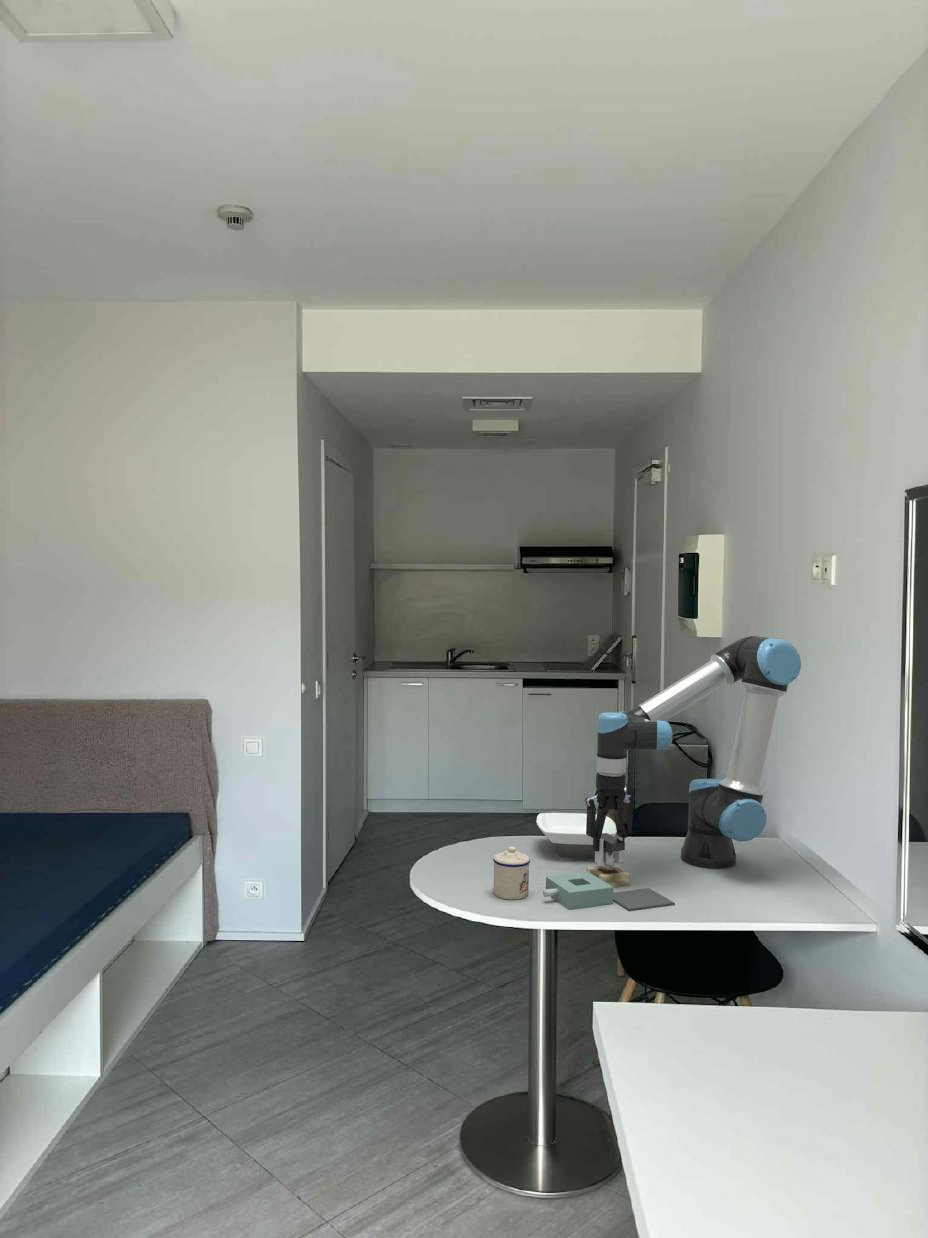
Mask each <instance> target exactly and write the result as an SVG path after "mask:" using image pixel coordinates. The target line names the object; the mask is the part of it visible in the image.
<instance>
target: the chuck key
mask: <svg viewBox="0 0 928 1238" xmlns="http://www.w3.org/2000/svg"><path fill="white" fill-rule="evenodd" d="M601 839H603V865H601V866H602V873H604V874H611V873H614V865H615V862H616V861H615V851H622V852H623V851H626V842H623V841H621V840H619V839H617V838H615V837H613V836H611V835H610V834H608V833H602V835H601Z"/></svg>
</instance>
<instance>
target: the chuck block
mask: <svg viewBox="0 0 928 1238" xmlns="http://www.w3.org/2000/svg"><path fill="white" fill-rule="evenodd" d="M613 892H614V887H612V886H610V885H609V884H607V883H606V882H604V881H602V880H601V879H599V878H597V877H596V876H594V875H593V874H591V873H589V872H587V871H585V872H576V873H567V874H559V875H550V876H549V875H548V876H545V889H543V890H542V895H543V897H545V898H548V897H551V898H553V900H555V901H557V902H559V903H560V904H561V905H562V906H564V907H565V908H567V909H568V910H574V909H583V908H591V907H597V906H606V905H613V904H614V901H613Z"/></svg>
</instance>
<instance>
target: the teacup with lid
mask: <svg viewBox="0 0 928 1238" xmlns="http://www.w3.org/2000/svg"><path fill="white" fill-rule="evenodd" d="M492 861H493V862H494V863H493V888H492V889H493V895H494V896H496V897H497V898H500V899H503V900H509V901H511V900H512V901H515V900H522V899H524V898H526V897H528V895H529V883H530V882H529V881H530V880H529V878H530V876H529V875H530V863H531V860H530V857H529V856H528V855H526V854H524V853H521V852H520V851H518V850H517V848H516V846H509V847H507V850H505V851H503V852H499V853H497V854H495V855H494V857H493V859H492Z"/></svg>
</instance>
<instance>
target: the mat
mask: <svg viewBox="0 0 928 1238" xmlns="http://www.w3.org/2000/svg"><path fill="white" fill-rule="evenodd" d="M613 903H616V904H617V905H618V906H621V907H622V908H623V909H625V910H627V911H628V912H632V911H640V910H647V909H654V908H662V907H671V906H675V905H676V903H675V902H674V901H672V900H671V899H670V898H668V897H666V896H664V895H662V894H660V893H658V892H657V891H655V890H653V889H652V888H650V887H646V888H638V889H630V890H622V891H616V892H615V891H613Z"/></svg>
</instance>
